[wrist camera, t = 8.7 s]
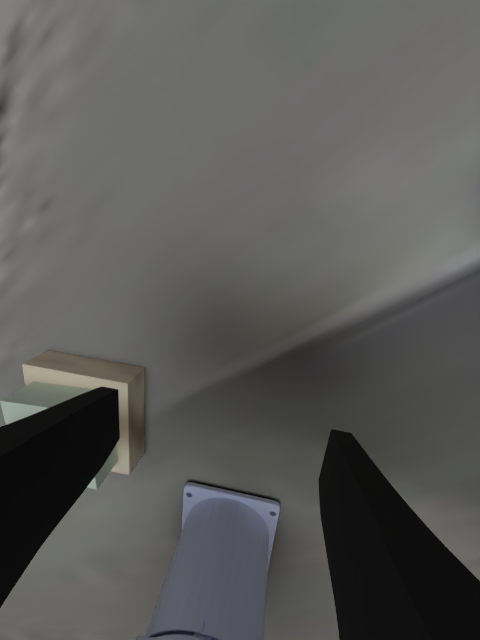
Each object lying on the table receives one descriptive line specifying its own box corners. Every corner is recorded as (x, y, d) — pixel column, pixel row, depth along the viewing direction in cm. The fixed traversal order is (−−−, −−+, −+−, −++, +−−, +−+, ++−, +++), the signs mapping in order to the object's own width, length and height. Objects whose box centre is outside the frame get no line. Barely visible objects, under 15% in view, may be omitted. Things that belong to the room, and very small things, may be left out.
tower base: (147, 447, 25) (129, 475, 22) (63, 429, 26) (35, 453, 23) (148, 364, 22) (127, 383, 19) (54, 347, 23) (22, 363, 20)
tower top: (117, 461, 21) (96, 489, 19) (47, 449, 22) (18, 475, 20) (109, 391, 20) (85, 412, 17) (33, 381, 21) (-1, 400, 18)
